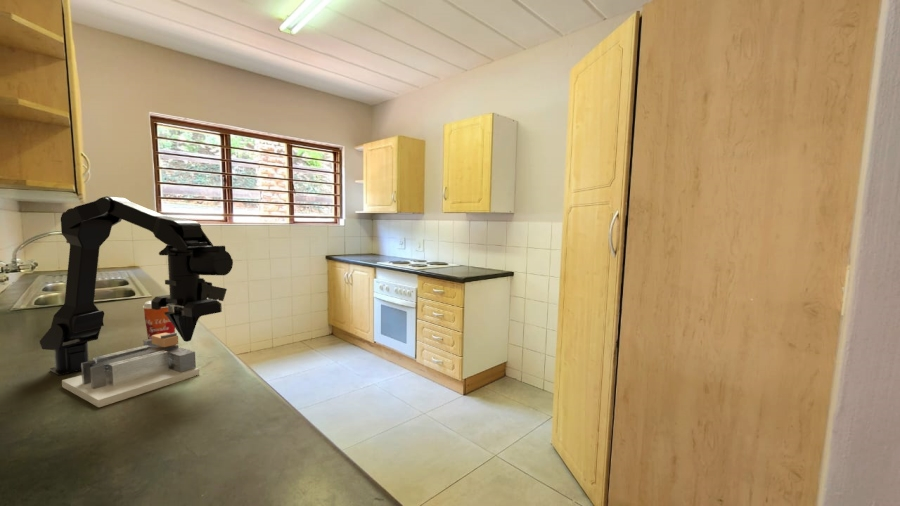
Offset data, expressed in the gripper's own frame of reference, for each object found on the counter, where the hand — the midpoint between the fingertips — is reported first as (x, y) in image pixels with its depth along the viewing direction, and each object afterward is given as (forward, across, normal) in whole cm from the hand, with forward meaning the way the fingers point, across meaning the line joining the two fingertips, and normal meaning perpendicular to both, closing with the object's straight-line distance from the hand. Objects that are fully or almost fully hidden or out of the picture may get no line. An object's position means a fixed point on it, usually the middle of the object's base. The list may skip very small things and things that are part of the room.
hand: (187, 341), depth 84 cm
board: (+8, +9, +7) cm, 14 cm away
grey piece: (+7, +9, +7) cm, 13 cm away
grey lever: (+4, +9, +6) cm, 11 cm away
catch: (+2, +10, 0) cm, 11 cm away
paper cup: (+9, +28, -7) cm, 30 cm away
